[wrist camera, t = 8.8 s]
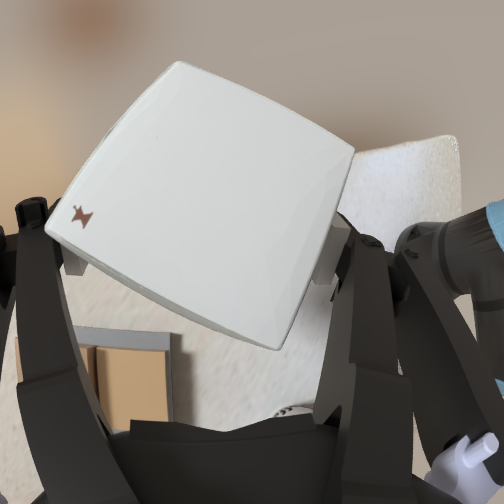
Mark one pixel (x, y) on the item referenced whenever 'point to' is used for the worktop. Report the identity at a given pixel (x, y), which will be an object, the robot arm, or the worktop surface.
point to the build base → (126, 373)
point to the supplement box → (209, 203)
